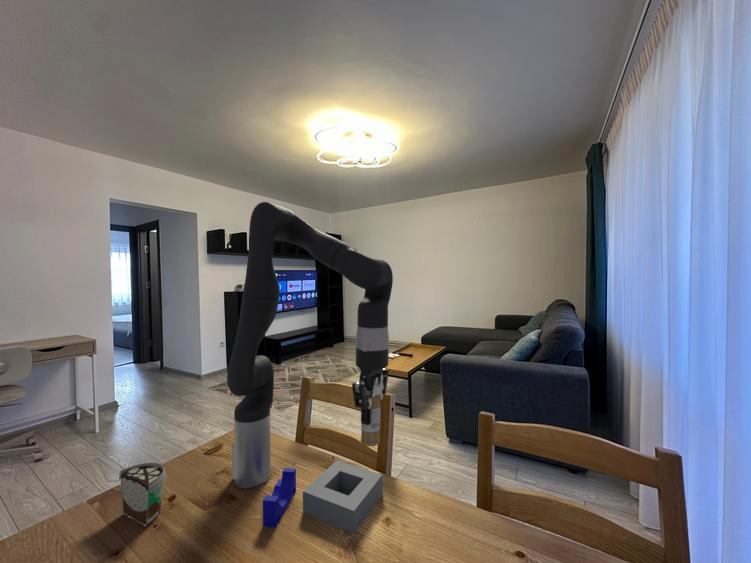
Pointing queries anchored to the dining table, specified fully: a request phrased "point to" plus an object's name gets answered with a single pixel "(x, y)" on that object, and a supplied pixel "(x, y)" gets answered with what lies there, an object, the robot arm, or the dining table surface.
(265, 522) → the cable clip
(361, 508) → the well block
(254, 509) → the dining table surface
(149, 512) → the food container
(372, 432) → the sprinkles bottle
